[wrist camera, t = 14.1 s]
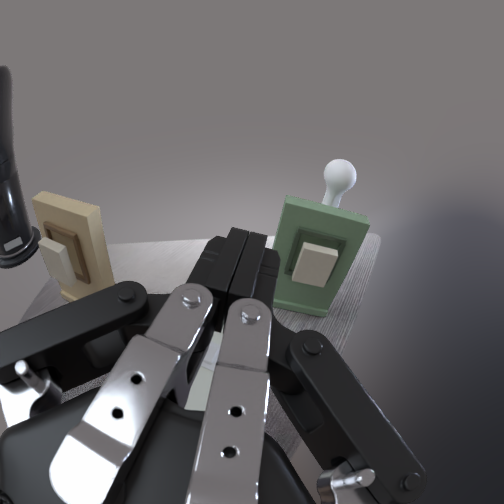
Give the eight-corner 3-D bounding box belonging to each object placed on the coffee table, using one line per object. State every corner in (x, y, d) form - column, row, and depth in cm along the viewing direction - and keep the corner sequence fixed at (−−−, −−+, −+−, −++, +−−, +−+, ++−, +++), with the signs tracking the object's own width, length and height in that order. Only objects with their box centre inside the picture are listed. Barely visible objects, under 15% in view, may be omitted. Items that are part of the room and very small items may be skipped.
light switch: (213, 432, 22) (128, 388, 24) (213, 434, 23) (130, 392, 25) (266, 314, 35) (198, 288, 37) (265, 320, 36) (198, 294, 38)
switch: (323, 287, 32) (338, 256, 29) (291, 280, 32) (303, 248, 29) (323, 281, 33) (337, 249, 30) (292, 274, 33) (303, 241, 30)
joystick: (283, 289, 41) (324, 166, 29) (261, 258, 46) (288, 143, 34) (336, 274, 46) (381, 169, 34) (312, 248, 51) (346, 148, 39)
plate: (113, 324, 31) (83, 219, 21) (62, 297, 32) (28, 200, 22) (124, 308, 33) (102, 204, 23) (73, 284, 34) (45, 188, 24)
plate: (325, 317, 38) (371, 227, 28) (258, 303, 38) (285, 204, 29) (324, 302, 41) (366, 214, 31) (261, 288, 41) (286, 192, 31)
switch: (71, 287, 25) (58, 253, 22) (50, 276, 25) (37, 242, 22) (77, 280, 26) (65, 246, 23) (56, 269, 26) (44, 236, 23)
